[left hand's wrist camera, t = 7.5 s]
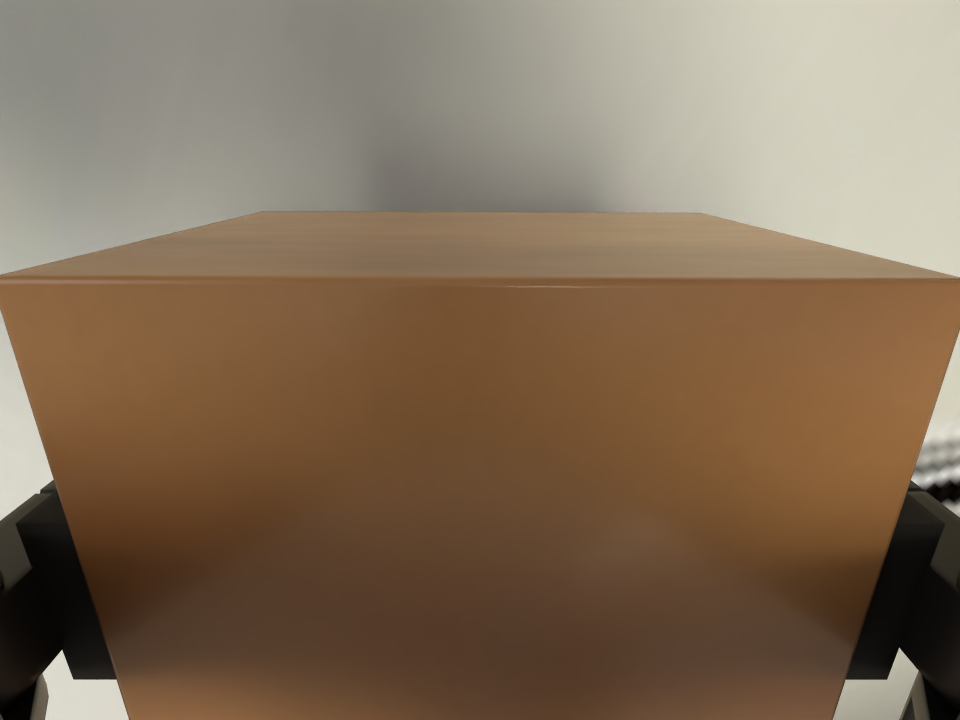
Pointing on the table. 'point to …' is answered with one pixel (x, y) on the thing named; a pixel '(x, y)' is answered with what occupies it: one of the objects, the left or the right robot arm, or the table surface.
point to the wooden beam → (481, 460)
